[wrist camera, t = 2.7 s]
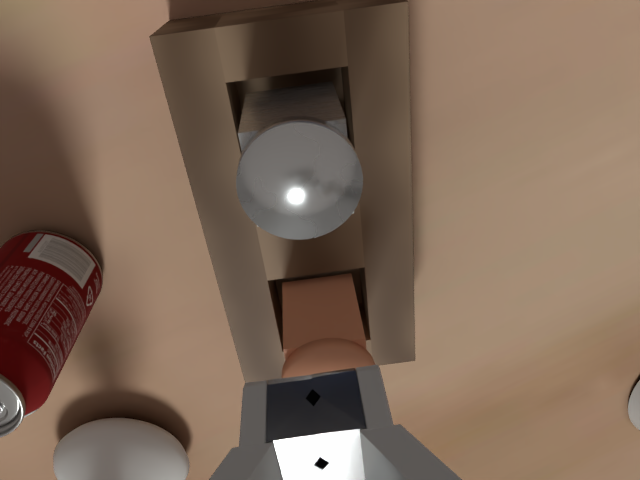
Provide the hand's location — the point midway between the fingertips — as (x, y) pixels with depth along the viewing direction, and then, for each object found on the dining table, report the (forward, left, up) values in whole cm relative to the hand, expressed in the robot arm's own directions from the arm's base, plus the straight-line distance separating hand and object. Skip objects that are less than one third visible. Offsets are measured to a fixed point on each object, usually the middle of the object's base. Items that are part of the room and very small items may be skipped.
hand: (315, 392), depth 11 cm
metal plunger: (0, 0, -18) cm, 18 cm away
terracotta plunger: (0, +12, -18) cm, 22 cm away
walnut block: (0, +6, -22) cm, 23 cm away
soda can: (+18, +9, -22) cm, 30 cm away
